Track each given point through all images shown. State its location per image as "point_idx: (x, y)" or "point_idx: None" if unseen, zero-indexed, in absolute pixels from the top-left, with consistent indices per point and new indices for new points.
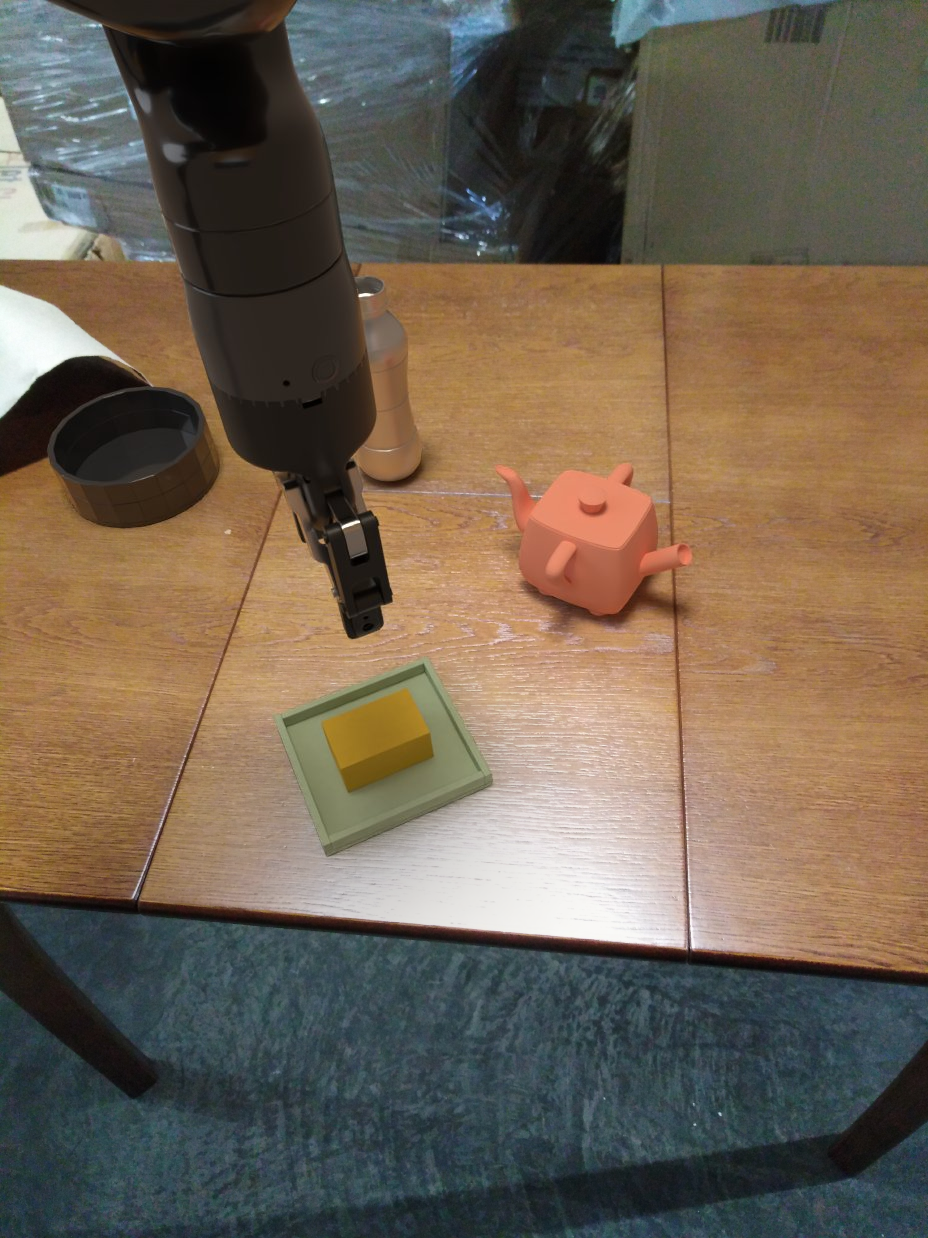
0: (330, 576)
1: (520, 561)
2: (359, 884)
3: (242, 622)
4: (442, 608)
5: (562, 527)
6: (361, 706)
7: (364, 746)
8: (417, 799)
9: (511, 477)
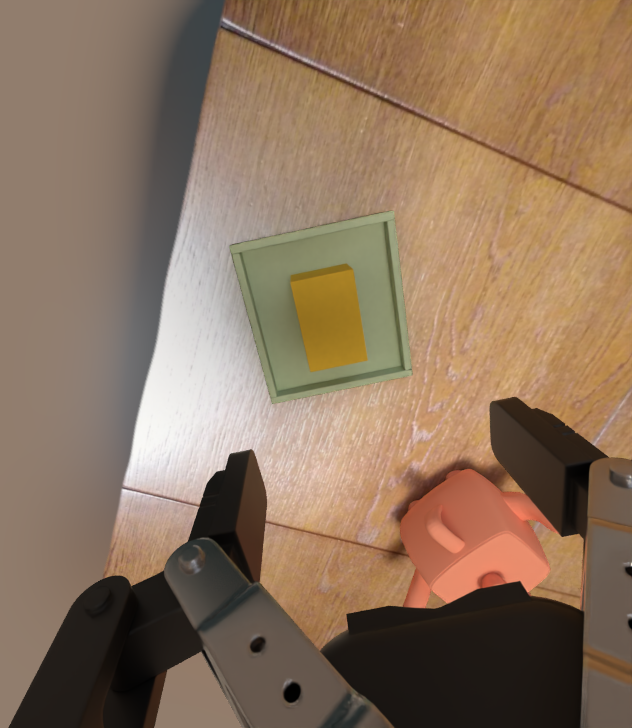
0: (195, 596)
1: (478, 481)
2: (201, 270)
3: (545, 183)
4: (470, 391)
5: (477, 553)
6: (359, 313)
7: (311, 309)
8: (260, 339)
9: None
